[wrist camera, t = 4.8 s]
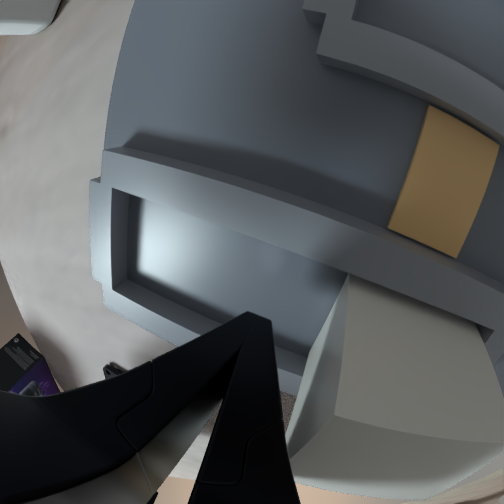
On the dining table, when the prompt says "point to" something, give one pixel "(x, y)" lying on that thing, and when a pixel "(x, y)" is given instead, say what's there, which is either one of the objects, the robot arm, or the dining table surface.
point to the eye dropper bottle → (26, 16)
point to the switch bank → (302, 165)
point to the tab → (394, 399)
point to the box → (25, 370)
